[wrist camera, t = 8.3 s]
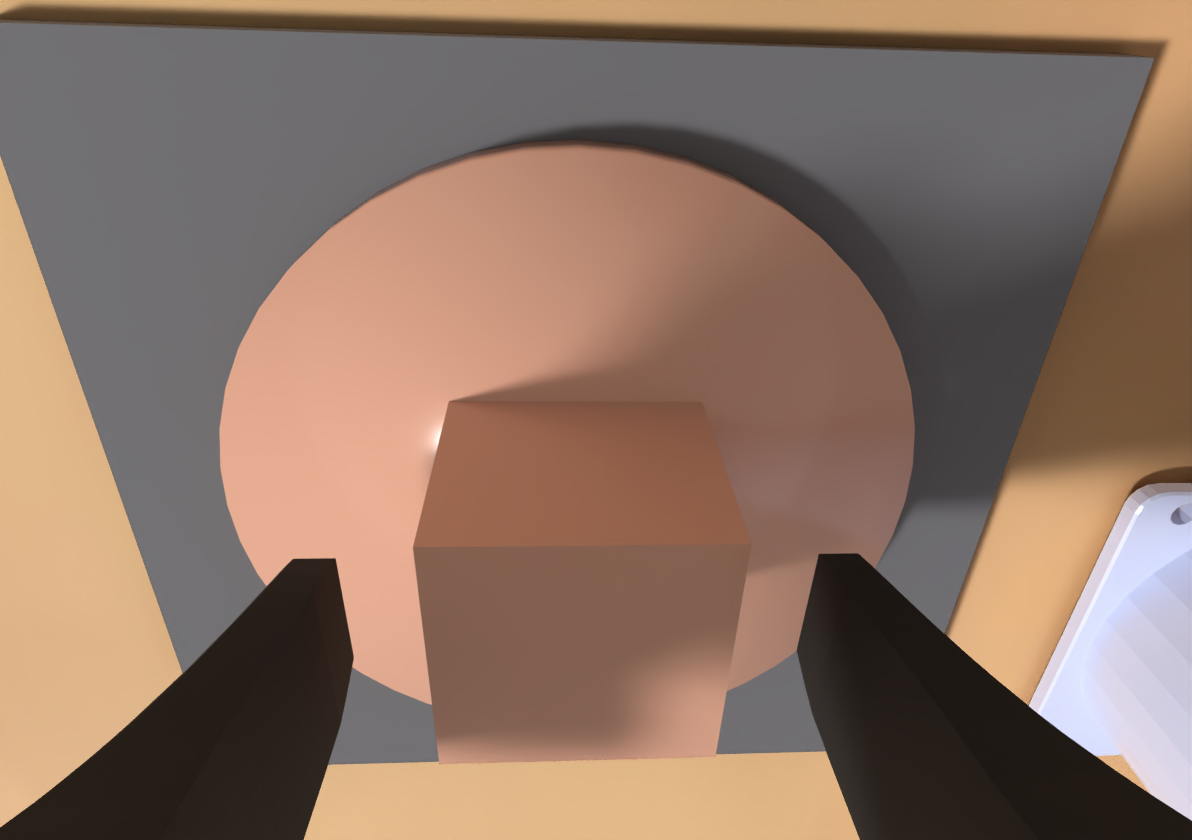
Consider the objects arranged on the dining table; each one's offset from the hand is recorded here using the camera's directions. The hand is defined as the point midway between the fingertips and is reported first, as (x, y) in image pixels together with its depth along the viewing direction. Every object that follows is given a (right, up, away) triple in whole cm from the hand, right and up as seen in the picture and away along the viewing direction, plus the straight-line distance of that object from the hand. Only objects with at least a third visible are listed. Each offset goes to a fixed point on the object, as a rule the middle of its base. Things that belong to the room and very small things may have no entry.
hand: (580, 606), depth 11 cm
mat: (0, +2, +3) cm, 3 cm away
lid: (0, +2, +2) cm, 3 cm away
